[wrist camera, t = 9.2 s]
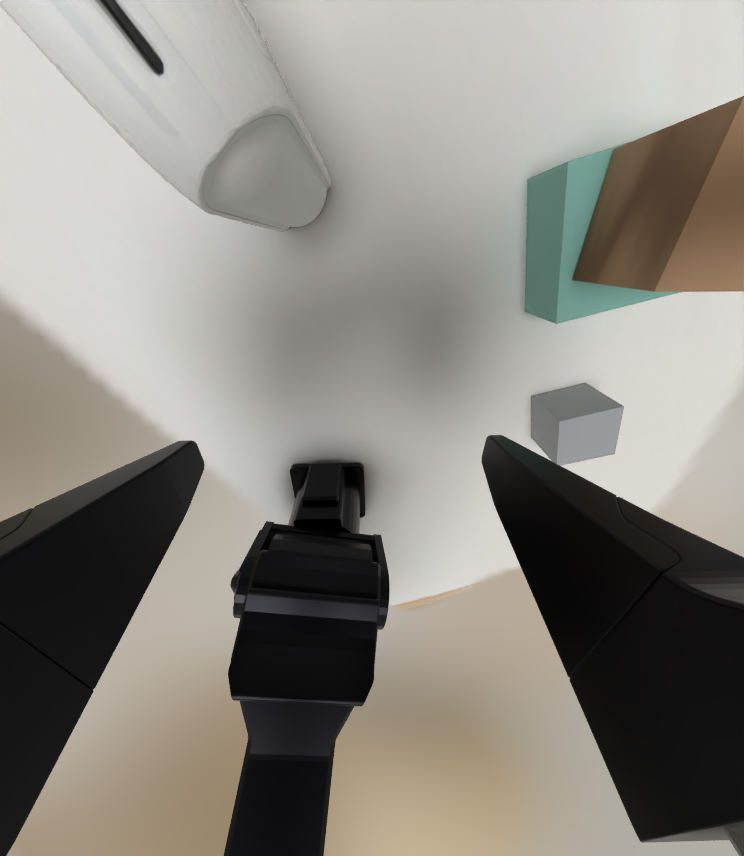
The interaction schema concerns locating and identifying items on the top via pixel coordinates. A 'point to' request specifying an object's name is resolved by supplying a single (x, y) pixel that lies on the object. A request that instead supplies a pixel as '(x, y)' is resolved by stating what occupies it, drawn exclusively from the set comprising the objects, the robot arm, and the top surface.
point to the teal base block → (568, 243)
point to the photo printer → (189, 99)
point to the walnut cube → (672, 209)
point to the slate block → (575, 423)
